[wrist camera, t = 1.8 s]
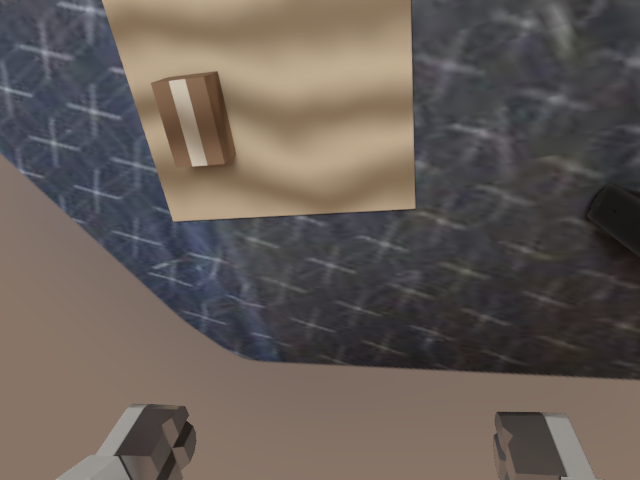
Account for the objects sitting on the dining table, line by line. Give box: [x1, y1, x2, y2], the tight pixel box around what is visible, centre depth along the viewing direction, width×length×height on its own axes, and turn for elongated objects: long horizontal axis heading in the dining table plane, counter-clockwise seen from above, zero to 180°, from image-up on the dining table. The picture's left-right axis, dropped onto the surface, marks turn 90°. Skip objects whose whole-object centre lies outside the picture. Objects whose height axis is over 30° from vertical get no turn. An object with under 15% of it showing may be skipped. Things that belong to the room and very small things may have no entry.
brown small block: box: [151, 71, 236, 168], centre depth 36 cm, size 7×4×3 cm, turn 7°
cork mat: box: [102, 0, 415, 221], centre depth 36 cm, size 20×24×1 cm
